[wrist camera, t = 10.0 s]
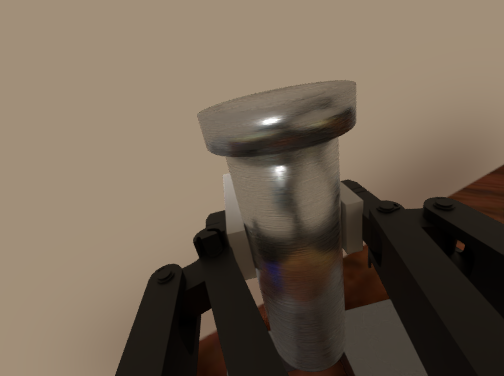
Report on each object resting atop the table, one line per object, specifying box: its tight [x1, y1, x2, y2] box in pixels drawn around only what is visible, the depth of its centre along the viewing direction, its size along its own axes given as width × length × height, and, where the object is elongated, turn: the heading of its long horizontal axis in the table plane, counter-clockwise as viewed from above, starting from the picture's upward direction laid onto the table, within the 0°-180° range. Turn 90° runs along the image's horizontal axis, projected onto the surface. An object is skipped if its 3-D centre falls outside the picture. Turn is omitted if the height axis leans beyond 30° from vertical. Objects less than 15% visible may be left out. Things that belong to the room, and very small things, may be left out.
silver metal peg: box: [197, 80, 356, 372], centre depth 12 cm, size 6×6×14 cm
